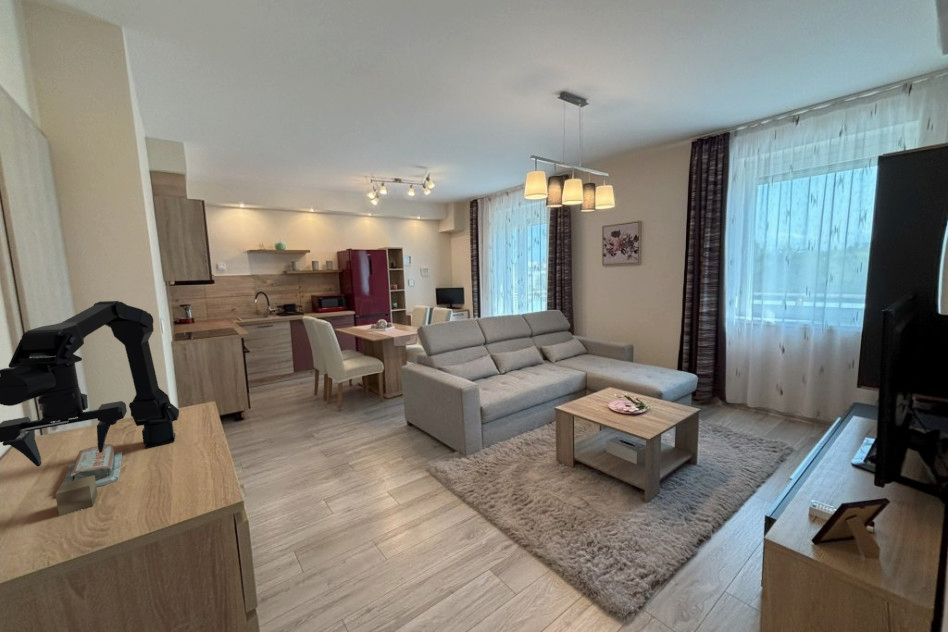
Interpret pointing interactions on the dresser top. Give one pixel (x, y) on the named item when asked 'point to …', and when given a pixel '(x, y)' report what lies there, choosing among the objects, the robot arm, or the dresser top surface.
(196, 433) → the dresser top surface
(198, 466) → the dresser top surface
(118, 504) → the dresser top surface
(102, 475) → the packaged product
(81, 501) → the walnut block
